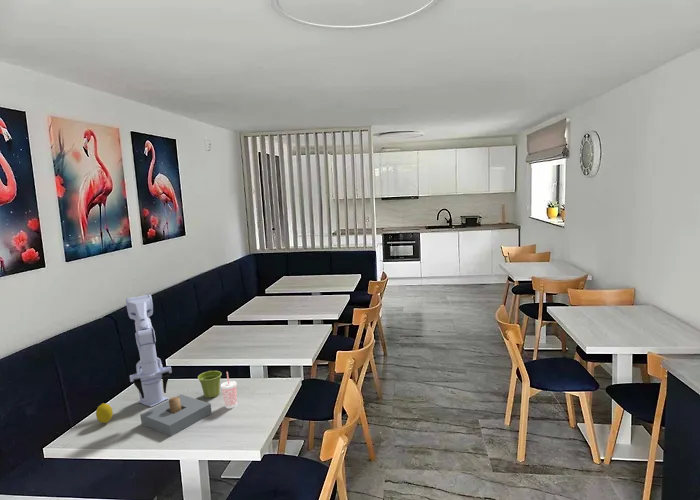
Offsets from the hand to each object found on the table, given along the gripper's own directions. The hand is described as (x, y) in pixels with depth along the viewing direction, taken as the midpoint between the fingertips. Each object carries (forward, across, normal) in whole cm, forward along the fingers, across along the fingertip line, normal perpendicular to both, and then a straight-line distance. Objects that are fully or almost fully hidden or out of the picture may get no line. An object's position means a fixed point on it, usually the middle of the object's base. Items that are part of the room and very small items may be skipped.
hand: (154, 394), depth 184 cm
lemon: (+10, -18, +7) cm, 21 cm away
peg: (+9, +7, -6) cm, 13 cm away
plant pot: (+10, +22, +8) cm, 25 cm away
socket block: (+9, +7, -5) cm, 13 cm away
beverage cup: (+10, +27, -6) cm, 29 cm away
